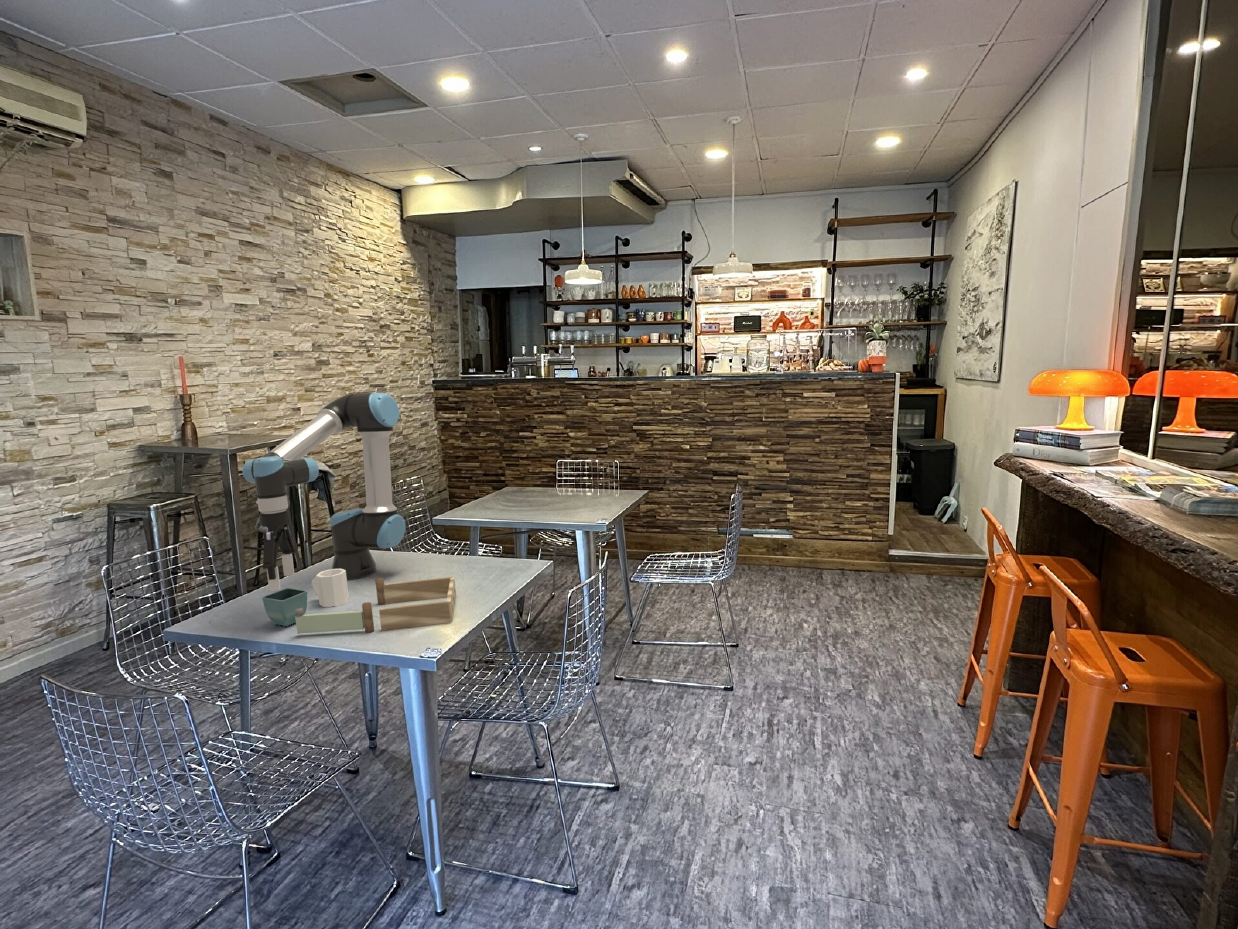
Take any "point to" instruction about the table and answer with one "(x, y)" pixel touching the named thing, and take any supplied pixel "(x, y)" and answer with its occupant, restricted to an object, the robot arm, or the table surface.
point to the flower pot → (285, 605)
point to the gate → (328, 621)
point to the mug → (331, 587)
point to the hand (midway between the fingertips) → (282, 582)
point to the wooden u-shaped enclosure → (412, 613)
